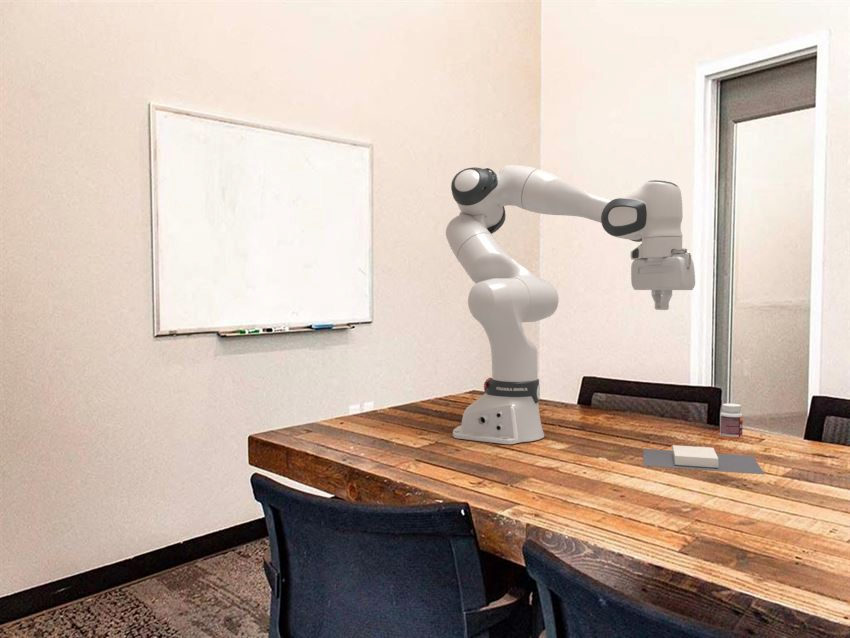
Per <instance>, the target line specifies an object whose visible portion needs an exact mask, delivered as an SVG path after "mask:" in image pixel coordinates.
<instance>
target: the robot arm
mask: <svg viewBox="0 0 850 638" xmlns="http://www.w3.org/2000/svg"><path fill="white" fill-rule="evenodd" d="M450 187H451V195H452V197H453V200H454V201H455V202H456V204H457V206H458V209H459V210H460V212H459V214H458V215H456V216H455V217H453V218H452V219H451V220H450V221H449V222H448V224H447V226H446V228H445V237H446V240H447V242H448V244H449V247H450V249H451V251H452V253H453V254H454V256H455V258H456V259H457V261H458V262H459V263H460V265H461V266H462V268H463V270H464V271H465V272H466V274H467V275H468V276H469V278H470V279H471V280H472V282H474V283H475V284H474V285H473V286H472V287H471V289H470V291H469V293H468V298H467V307H468V310H469V313H470V314H471V315H472V317H473V318H474V319H475V320H476V321H477V322H479V324H480V325H481V327H482V328H483V329H484V331H485V334H486V336H487V338H488V343H489V346H490V352H491V375H492V376H491V377H488V378H487V379H486V380H485V382H484V383H483V390H484V392H485V393H484V394H482V395H481V396H479V398H477V399H476V400H475V401H473V402H472V403H471V404H470V405H468V406H467V407H466V408H465V409H464V412H463V414H462V417H461V418H462V419H461V425H458V426H457V427H455V428H454V429H453V431H452V437H453V438H455V439H460V440H461V439H462V440H467V441H475V442H485V443H492V444H493V443H495V444H501V445H502V444H503V445H514V444H518V443H527V442H533V441H534V442H535V441H538V440H541V439H543V438H545V432H544V430H543V426H542V421H541V417H540V416H541V415H540V407H539V402H540V399H541V397H540V396H541V388H540V387H541V385H540V379H539V378H538V350H537V346H536V344H534V342H532V341H531V340H529V339H528V338H527V336H526V334H525V332H524V328H523V323H535V322H538V321H542V320H544V319H547V318H549V317H550V318H551V316H553V315H554V314H555V313H556V311H557V309H558V307H559V294H558V291H557V288H556V286H555V285H554V284H553V283H551V282H549V281H547V280H545V279H542V278H541V277H539V276H537V275H535V274H534V273H533V272H531V271H530V270H528V269H527V268H525V267H524V266H523V265H521V264H520V263H518V261H516V260H515V259H513V258H512V257H511V256H510V255H509V254H508V252H506V250H505V249H504V248H503V246H501V244H500V243H499V242H498V241H497V240H496V238H495V237H494V236H493V234H494V233H496V232H497V231H499V229H500V228H501V227H502V226H503V225H504V223H505V221H506V210H505V206H513V207H518V208H520V209H523V210H525V211H527V212H532V213H536V214H540V215H541V214H542V215H547V216H548V215H550V216H551V215H552V216H569V217H570V216H571V217H579V218H585V219H587V220H588V219H589V220H591V221H594V222H596V223H600V224H601V226H602V228H603V230H604V231H605V232H606V233H607V234H609V235H610V236H612V237H614V238H618V239H623V240H628V241H632V242H636V243H639V242H640V244H639V245H638V246H637V247H635V248H634V249H632V250H631V251H630V255H629V257H630V259H631V260H632V263H631V267H630V271H631V272H630V275H631V276H630V277H631V278H630V280H631V286H632V288H633V290H634V291H651V298H652V300H653V302H654V309H655V310H656V311H657V310H658V311H668V310H669V308H670V305H669V304H670V300H671V299H672V296H673V291H692V290H694V287H695V286H696V273H695V265H694V261H693V258H692V254H691V252H690V251H689V250H688V249H687V248H683V233H682V228H681V227H682V221H683V200H682V199H683V197H682V192H681V191H682V190H681V189H680V186H678V185H677V184H675V183H674V182H671V181H666V180H658V179H657V180H648V181H646V182H645V183H644V184H643V185H642V186H640V187H639V188H638V189H636V190H634V191H632V192H631V193H629V194H626V195H624V196H621V197H618V198H614V199H612V200H611V199H609V198H605V197H601V196H598V195H596V194H592V193H590V192H588V191H585V190H584V189H582V188H579V186H577V185H575V184H573V183H571V182H570V181H568V180H566V179H564V178H563V177H560V176H559V175H556V174H554V173H552V172H550V171H547V170H544V169H541V168H537V167H533V166H528V165H521V164H507V165H504V166H503V167H502V168H500V169H499V171H498V172H497V173H496V172H495V171H494V170H493V169H491V168H489V167H488V168H487V167H486V168H481V167H467V168H464V169H462V170H460V171H459V172H457V173H456V174H455V175H454V177H453V178H452V181H451V184H450Z"/></svg>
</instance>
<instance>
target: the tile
mask: <svg viewBox="0 0 850 638" xmlns="http://www.w3.org/2000/svg"><path fill="white" fill-rule="evenodd" d="M672 451H673V457H674V462H675V465H677V466H691V467H705V468H718V457H717V454H716V451H715V448H714V447H707V446H691V445H675V444H672Z"/></svg>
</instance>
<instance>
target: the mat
mask: <svg viewBox="0 0 850 638" xmlns="http://www.w3.org/2000/svg"><path fill="white" fill-rule="evenodd" d="M716 454H717V457H718V468H705V467H691V466H677V465H675V462H674V457H673V450H667V449H666V450H665V449H654V448H653V449H652V448H642V456H643V457H642V459H643V461H642V462H643V467H652V468H653V467H654V468H655V467H656V468H670V469H684V470H697V471H698V470H699V471H710V472H711V471H712V472H726V473H740V474H752V475H754V474H755V475H764V476H765V472H764V471H763V469H762V468H761V466H760V464H759V462H758V461H757V460H756V458H755V457H754V456H753V455H746V454H745V455H744V454H731V453H729V454H728V453H718V452H717V453H716Z"/></svg>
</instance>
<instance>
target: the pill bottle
mask: <svg viewBox="0 0 850 638" xmlns="http://www.w3.org/2000/svg"><path fill="white" fill-rule="evenodd" d="M721 408H722V409H721V410H722V411H721V412H720V415H719V416H720V417H719V418H720V420H719V421H720V424H719V425H720V431H719V432H720V434H719V435H720V436H719V437H720V438H722V439H725V440H734V441H737V440H738V441H739V440H742V439H743V426H744V425H743V423H744V422H743V420H744V417H743V414H742V405H741V404H738V403H722V407H721Z"/></svg>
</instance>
